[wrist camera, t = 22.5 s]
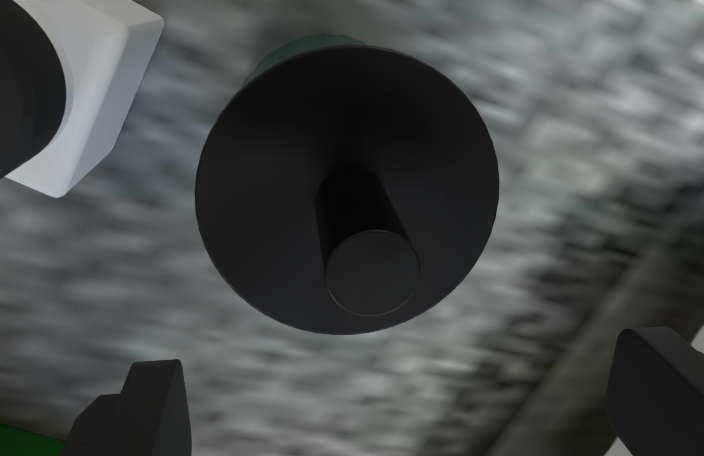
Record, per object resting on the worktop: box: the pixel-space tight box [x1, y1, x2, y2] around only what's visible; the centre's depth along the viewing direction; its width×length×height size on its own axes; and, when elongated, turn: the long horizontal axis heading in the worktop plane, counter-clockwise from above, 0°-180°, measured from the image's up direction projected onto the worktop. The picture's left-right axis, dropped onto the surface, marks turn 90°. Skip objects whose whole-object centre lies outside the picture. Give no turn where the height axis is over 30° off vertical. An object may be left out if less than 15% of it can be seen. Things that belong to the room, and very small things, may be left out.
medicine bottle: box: [0, 0, 164, 198], centre depth 21 cm, size 7×7×12 cm
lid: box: [195, 44, 499, 335], centre depth 17 cm, size 10×10×6 cm
